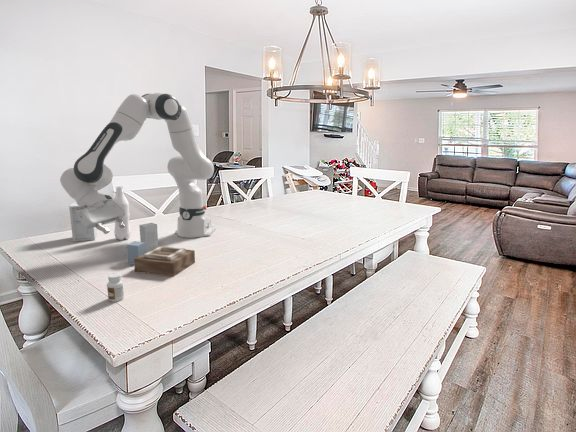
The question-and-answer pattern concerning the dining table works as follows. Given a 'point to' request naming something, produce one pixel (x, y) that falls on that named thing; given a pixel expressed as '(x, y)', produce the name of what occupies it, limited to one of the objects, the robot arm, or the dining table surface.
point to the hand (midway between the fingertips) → (115, 229)
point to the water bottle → (122, 201)
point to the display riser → (165, 261)
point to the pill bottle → (115, 288)
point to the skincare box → (149, 235)
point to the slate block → (135, 250)
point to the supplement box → (80, 227)
